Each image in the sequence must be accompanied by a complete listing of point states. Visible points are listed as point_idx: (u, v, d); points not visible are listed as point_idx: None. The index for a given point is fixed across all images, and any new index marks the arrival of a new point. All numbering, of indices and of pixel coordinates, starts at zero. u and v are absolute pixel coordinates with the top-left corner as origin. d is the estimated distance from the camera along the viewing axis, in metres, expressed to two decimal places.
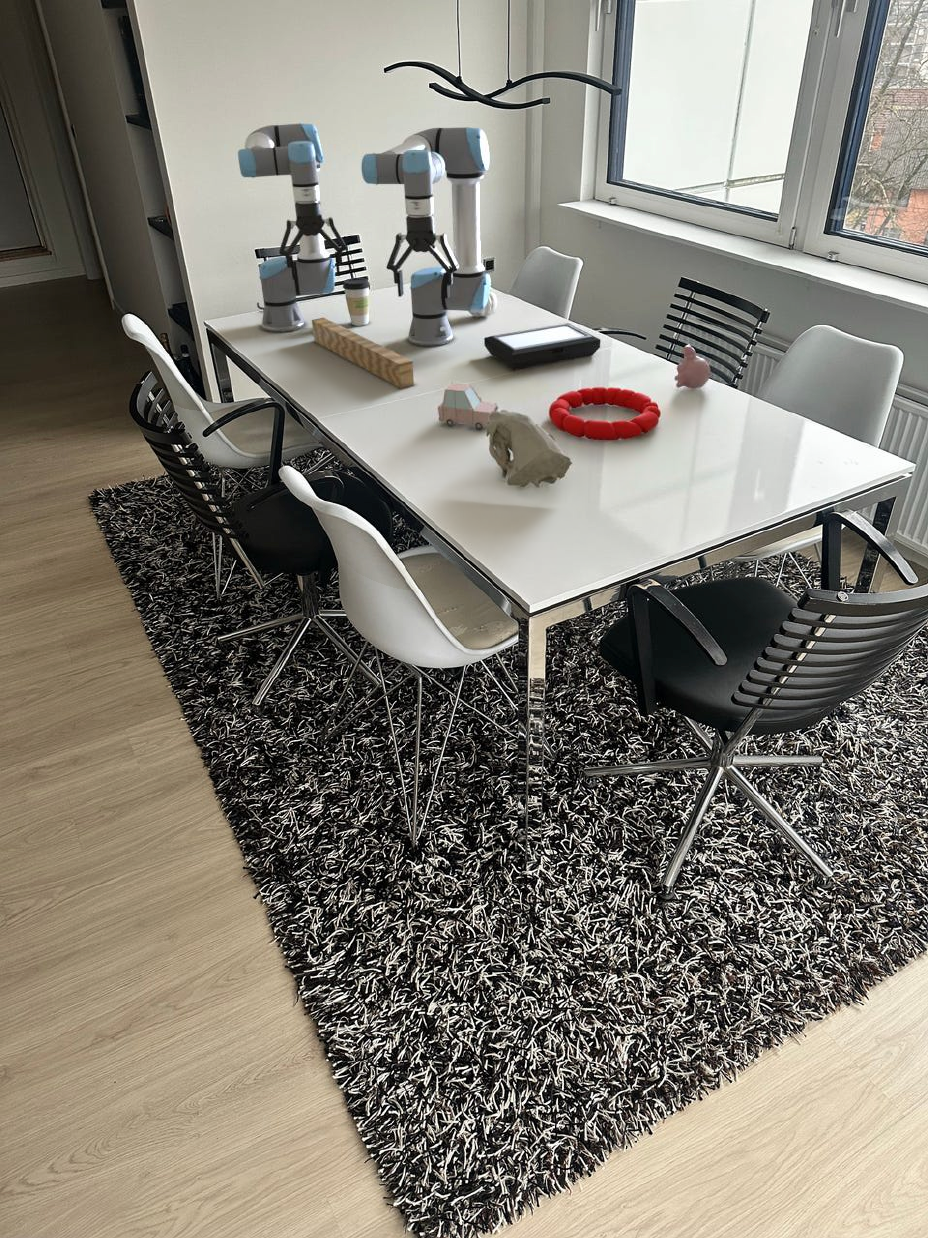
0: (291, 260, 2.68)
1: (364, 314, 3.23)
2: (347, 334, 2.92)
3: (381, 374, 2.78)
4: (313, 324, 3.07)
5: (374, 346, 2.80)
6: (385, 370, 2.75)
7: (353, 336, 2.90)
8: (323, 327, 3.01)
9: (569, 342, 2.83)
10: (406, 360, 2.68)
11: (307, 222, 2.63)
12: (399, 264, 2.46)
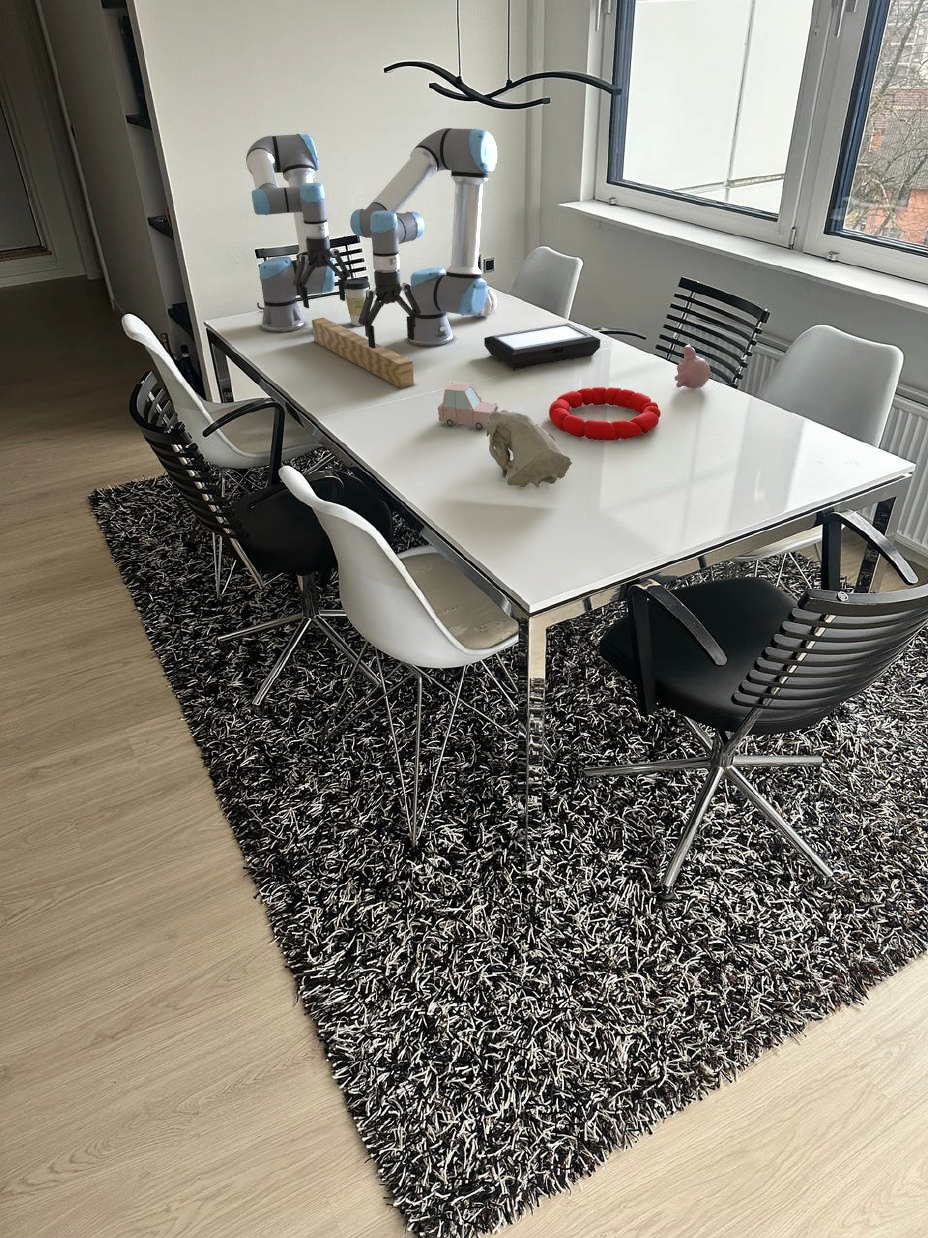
0: (306, 291, 2.92)
1: None
2: (347, 334, 2.92)
3: (381, 374, 2.78)
4: (313, 324, 3.07)
5: None
6: (385, 370, 2.75)
7: (353, 336, 2.90)
8: (323, 327, 3.01)
9: (569, 342, 2.83)
10: (406, 360, 2.68)
11: (318, 255, 2.89)
12: (373, 318, 2.61)
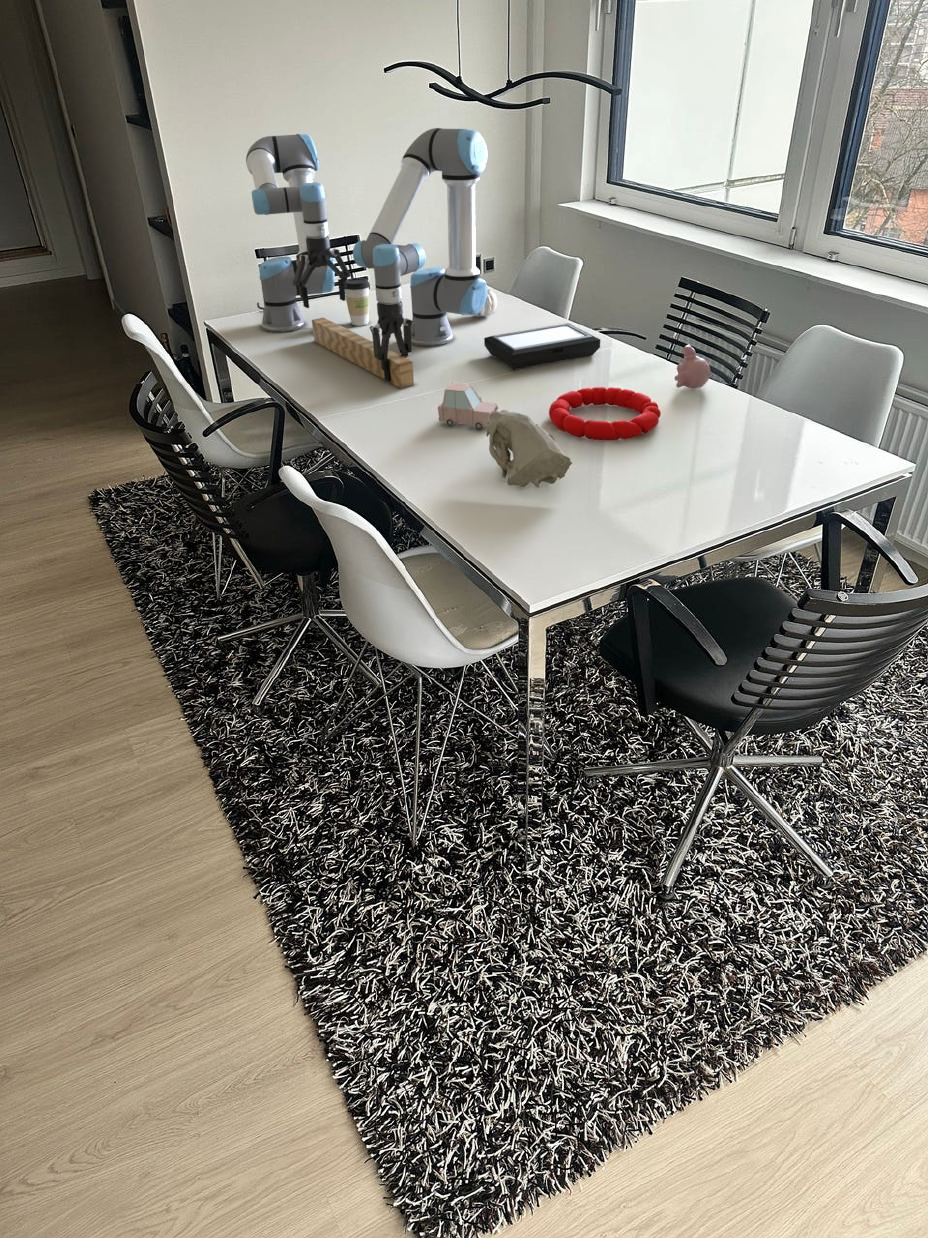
0: (306, 290, 2.92)
1: (364, 314, 3.23)
2: (347, 334, 2.92)
3: (381, 374, 2.78)
4: (313, 324, 3.07)
5: None
6: None
7: (353, 336, 2.90)
8: (323, 327, 3.01)
9: (569, 342, 2.83)
10: (406, 360, 2.68)
11: (318, 255, 2.89)
12: (386, 352, 2.69)
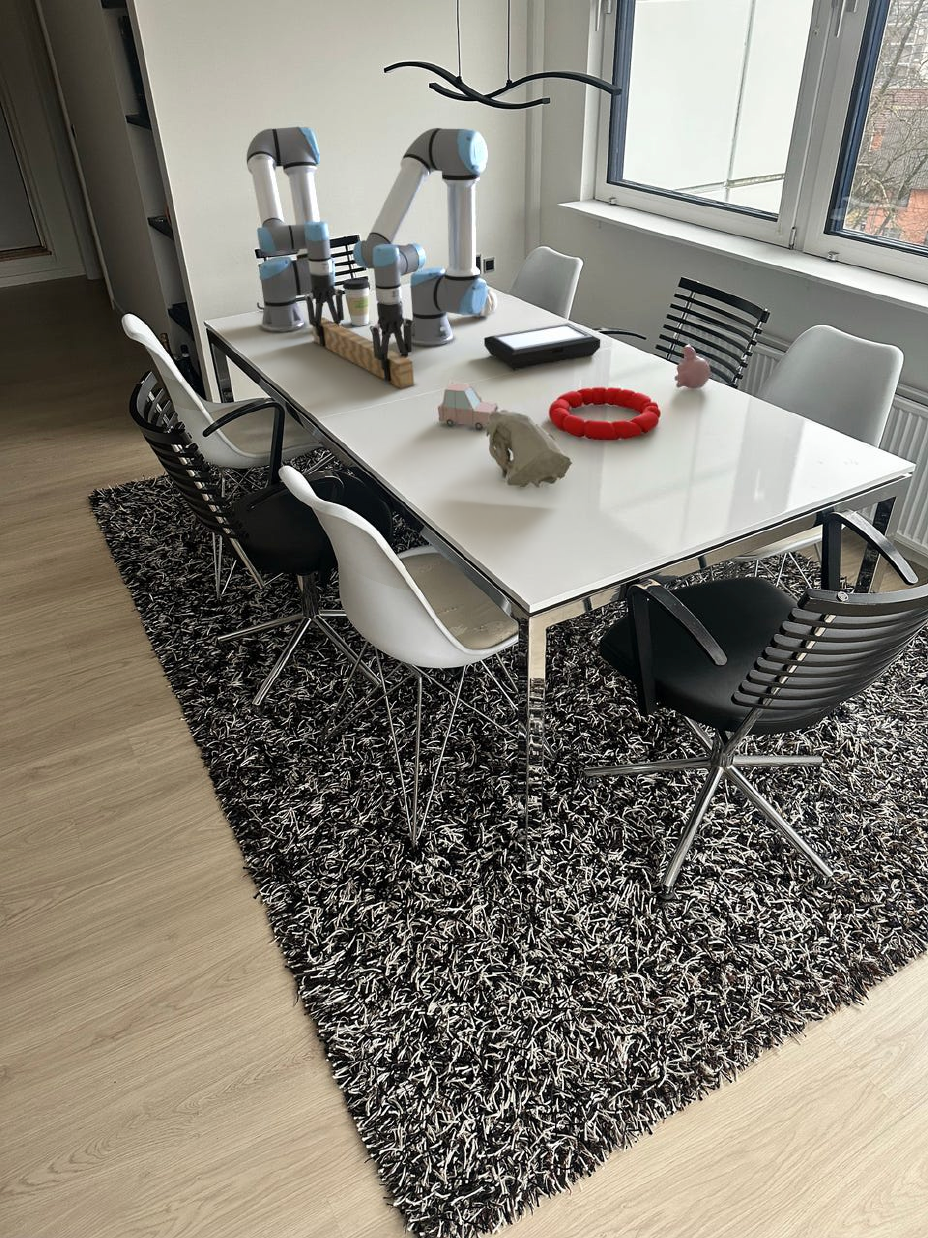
0: (322, 329, 3.01)
1: (364, 314, 3.23)
2: (347, 334, 2.92)
3: (381, 374, 2.78)
4: None
5: None
6: None
7: (353, 336, 2.90)
8: (323, 327, 3.01)
9: (569, 342, 2.83)
10: (406, 360, 2.68)
11: (321, 288, 2.95)
12: (386, 352, 2.69)
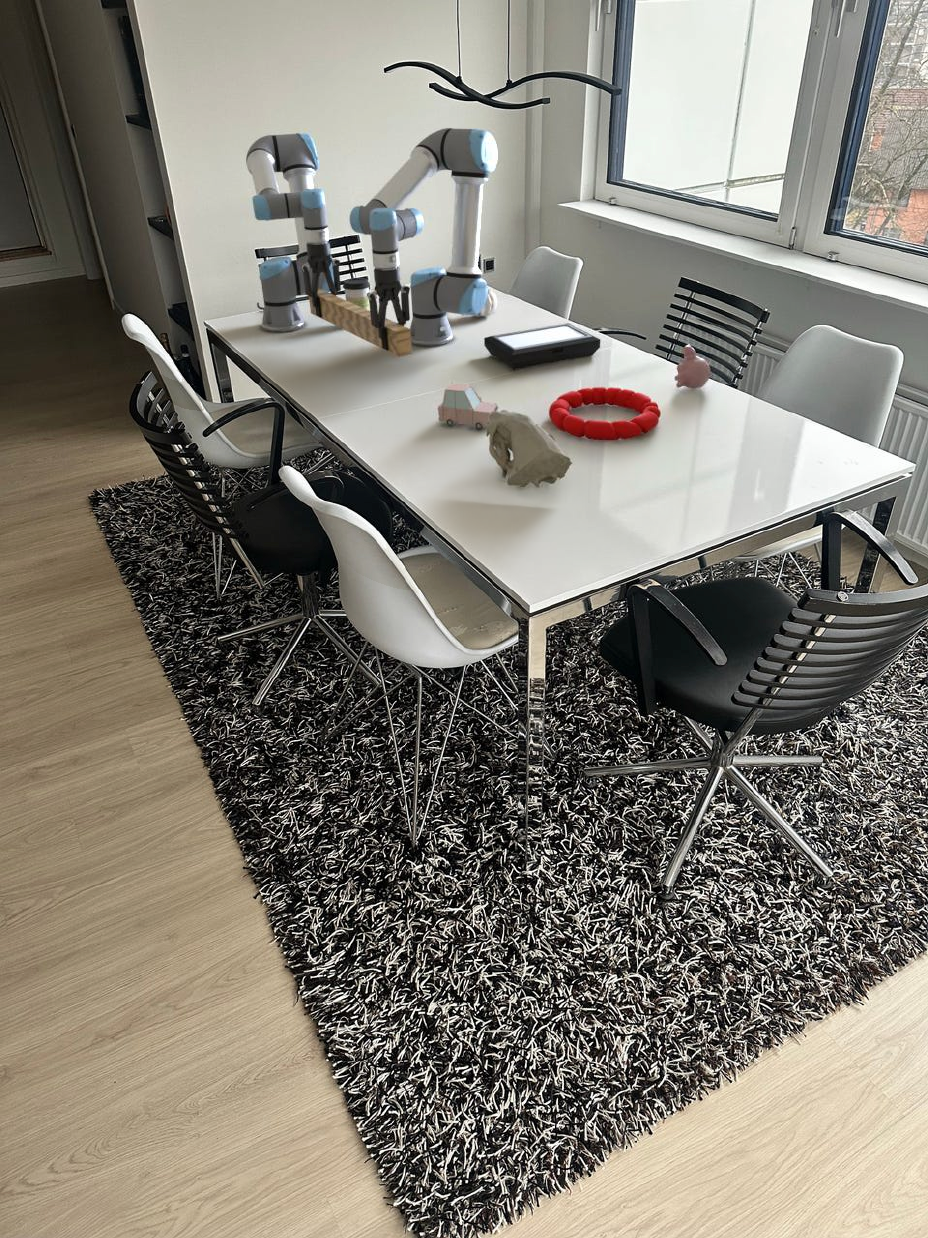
0: (318, 300, 2.96)
1: None
2: (343, 304, 2.87)
3: (378, 344, 2.73)
4: None
5: None
6: None
7: (350, 305, 2.85)
8: (320, 298, 2.96)
9: (569, 342, 2.83)
10: (404, 328, 2.63)
11: (318, 257, 2.89)
12: (384, 319, 2.63)
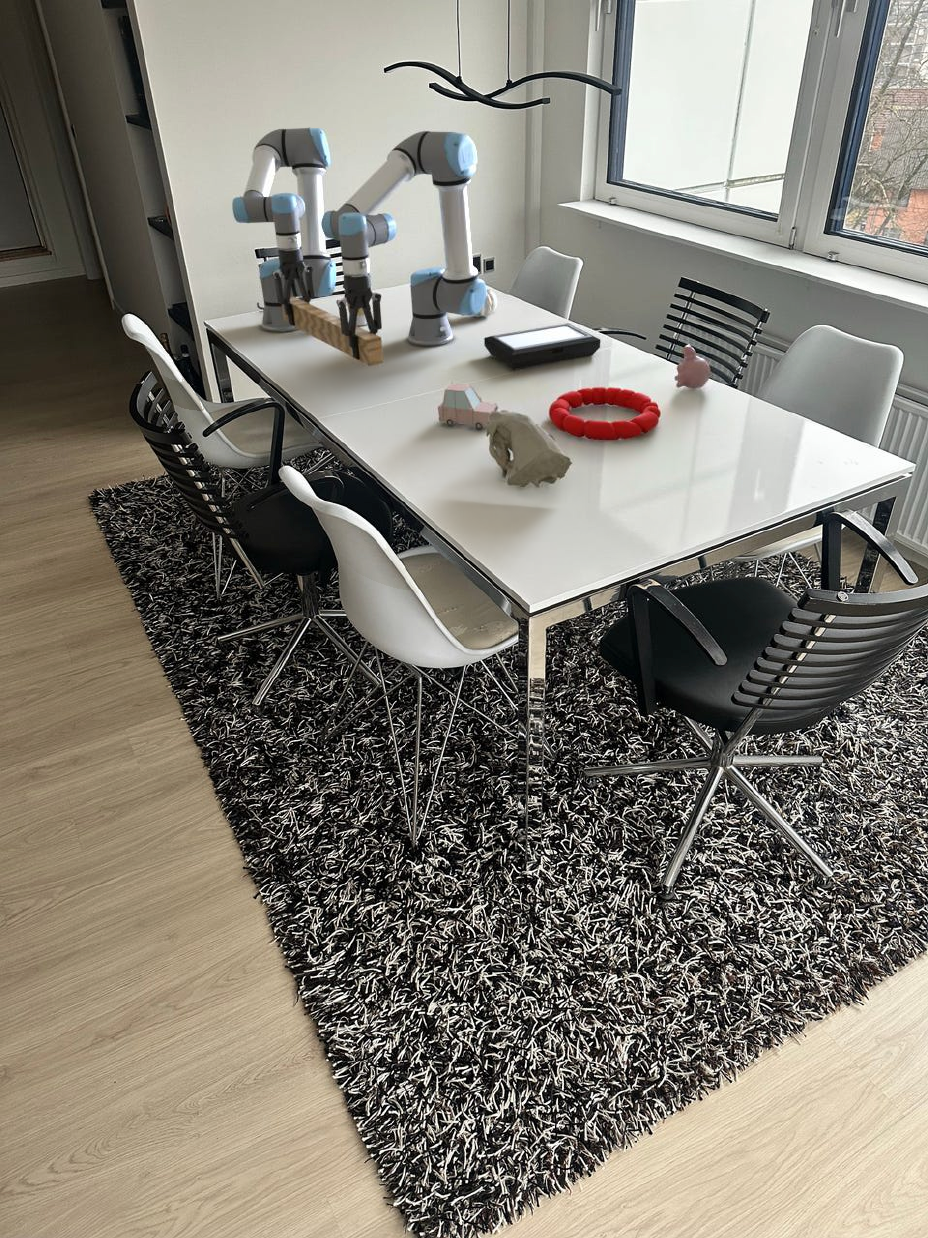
0: (291, 308, 2.88)
1: None
2: (316, 312, 2.78)
3: (349, 352, 2.64)
4: None
5: None
6: None
7: (322, 313, 2.76)
8: (292, 305, 2.88)
9: (569, 342, 2.83)
10: (375, 336, 2.55)
11: (290, 264, 2.81)
12: (354, 327, 2.55)
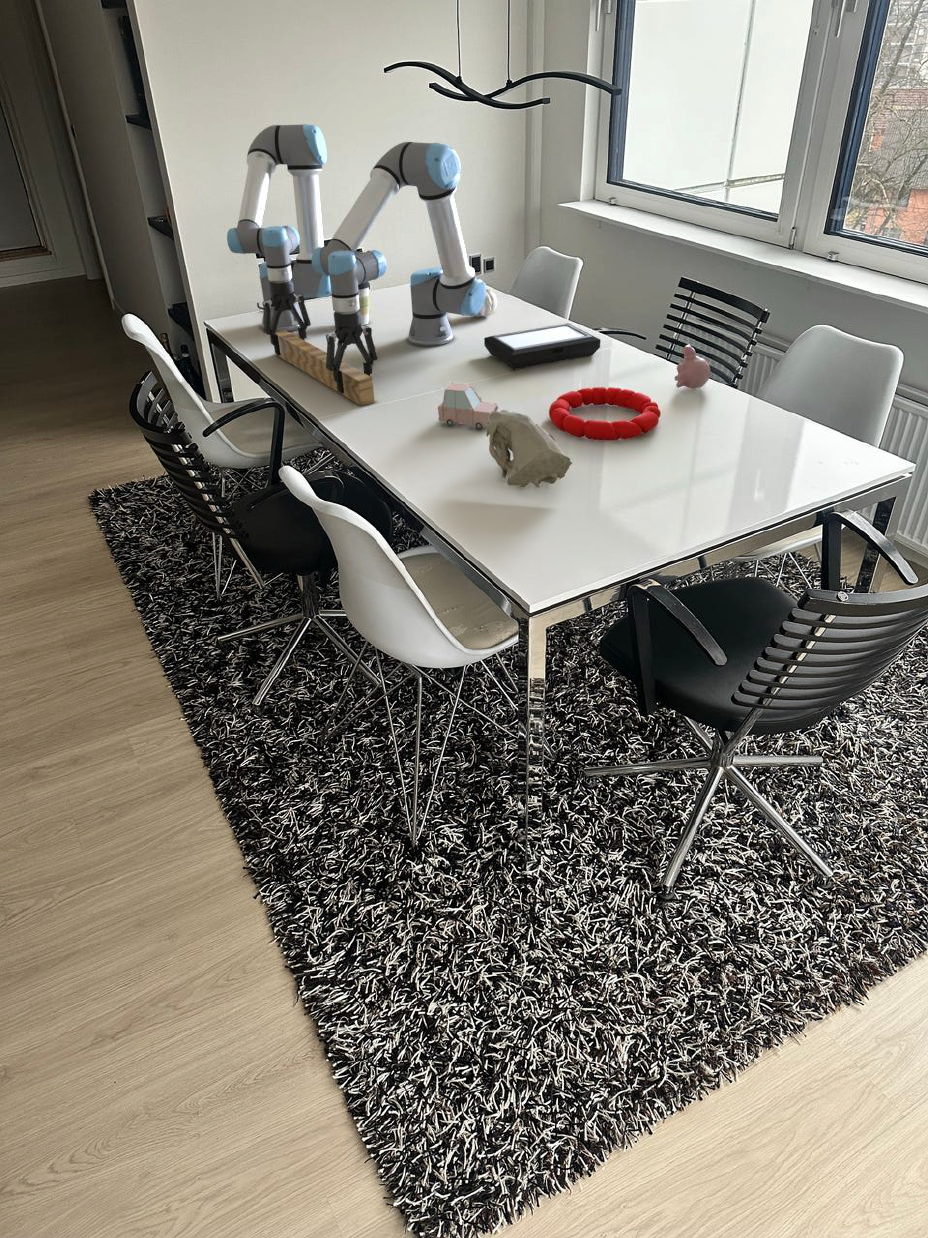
0: (277, 338, 2.88)
1: (364, 314, 3.23)
2: (307, 348, 2.81)
3: None
4: None
5: None
6: (345, 387, 2.64)
7: (314, 350, 2.79)
8: (284, 340, 2.90)
9: (569, 342, 2.83)
10: (366, 377, 2.57)
11: (281, 297, 2.83)
12: (339, 363, 2.56)
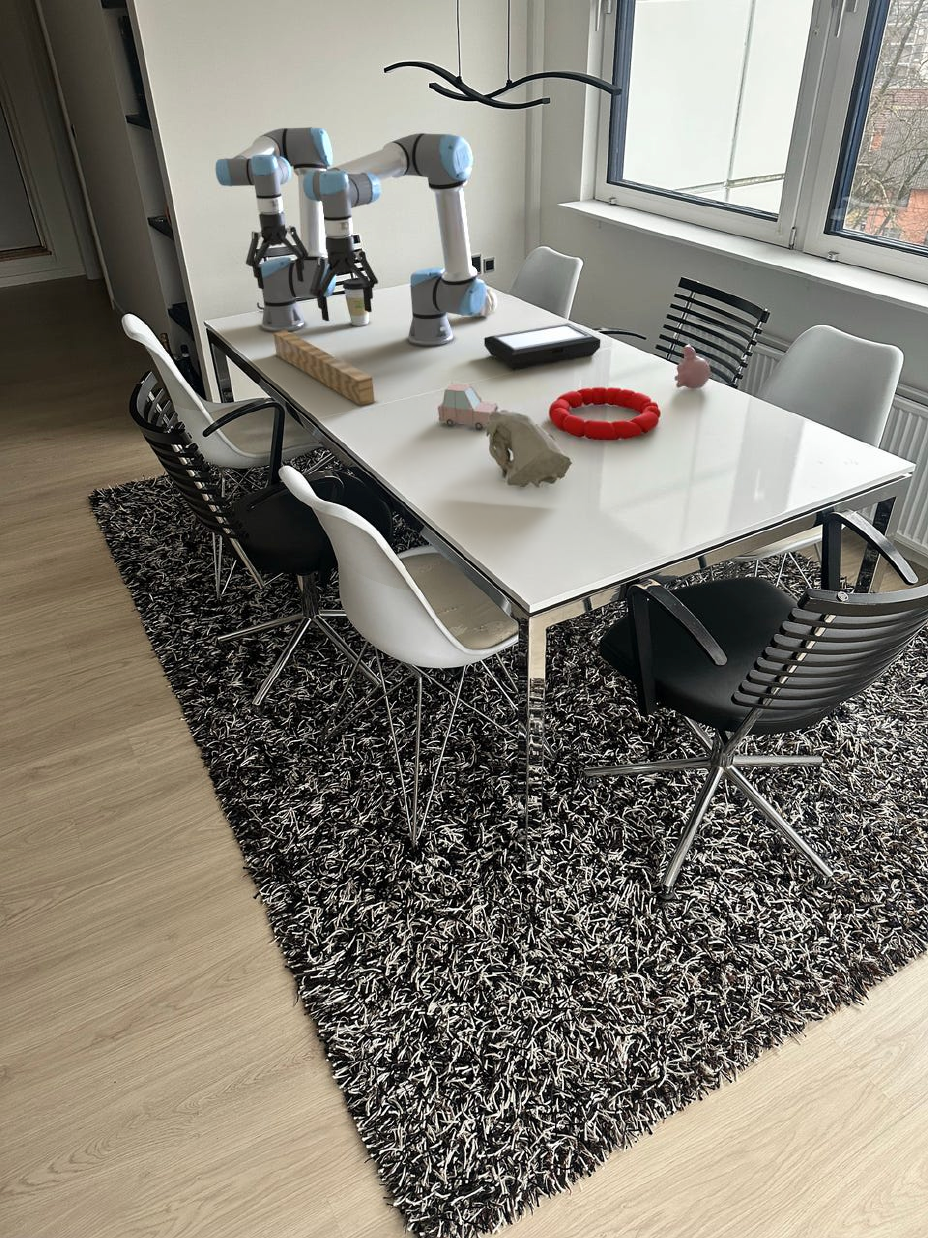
0: (260, 270, 2.75)
1: (364, 314, 3.23)
2: (307, 348, 2.81)
3: (341, 391, 2.67)
4: (275, 337, 2.96)
5: (335, 361, 2.69)
6: (345, 387, 2.64)
7: (314, 350, 2.79)
8: (284, 340, 2.90)
9: (569, 342, 2.83)
10: (366, 377, 2.57)
11: (273, 232, 2.72)
12: (325, 288, 2.43)
